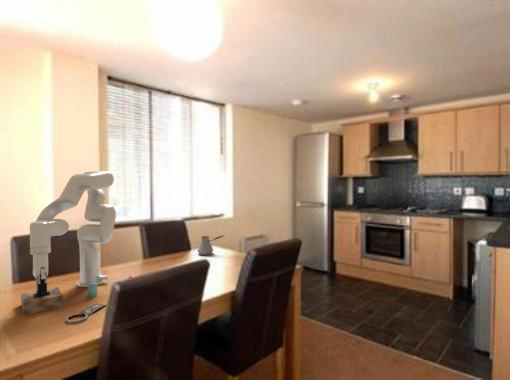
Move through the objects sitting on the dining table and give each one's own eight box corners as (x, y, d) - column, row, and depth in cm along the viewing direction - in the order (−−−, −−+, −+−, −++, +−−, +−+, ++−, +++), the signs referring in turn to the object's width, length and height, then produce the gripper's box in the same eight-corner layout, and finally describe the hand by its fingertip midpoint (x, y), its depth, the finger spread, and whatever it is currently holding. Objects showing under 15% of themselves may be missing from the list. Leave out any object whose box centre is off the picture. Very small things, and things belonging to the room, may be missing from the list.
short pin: (98, 294, 157) (97, 282, 157) (95, 297, 153) (95, 284, 153) (89, 294, 157) (89, 282, 157) (86, 297, 153) (86, 285, 153)
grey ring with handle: (110, 306, 143) (110, 302, 143) (78, 326, 124) (78, 321, 124) (94, 305, 145) (94, 301, 145) (61, 324, 126) (60, 319, 126)
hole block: (58, 297, 153) (57, 287, 153) (63, 306, 142) (62, 295, 142) (21, 304, 144) (21, 293, 144) (23, 315, 133) (23, 303, 133)
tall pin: (49, 299, 146) (48, 270, 145) (44, 302, 142) (44, 273, 141) (39, 300, 145) (38, 271, 144) (34, 303, 141) (34, 273, 140)
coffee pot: (194, 255, 237) (194, 234, 237) (202, 251, 248) (202, 232, 247) (221, 257, 230) (221, 236, 229) (227, 254, 241) (227, 233, 240)
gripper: (28, 247, 147) (29, 287, 147) (32, 254, 133) (33, 298, 134) (48, 245, 151) (49, 284, 152) (53, 251, 138) (54, 294, 139)
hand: (41, 290), depth 143 cm, fingers closed on tall pin, 4 cm apart
